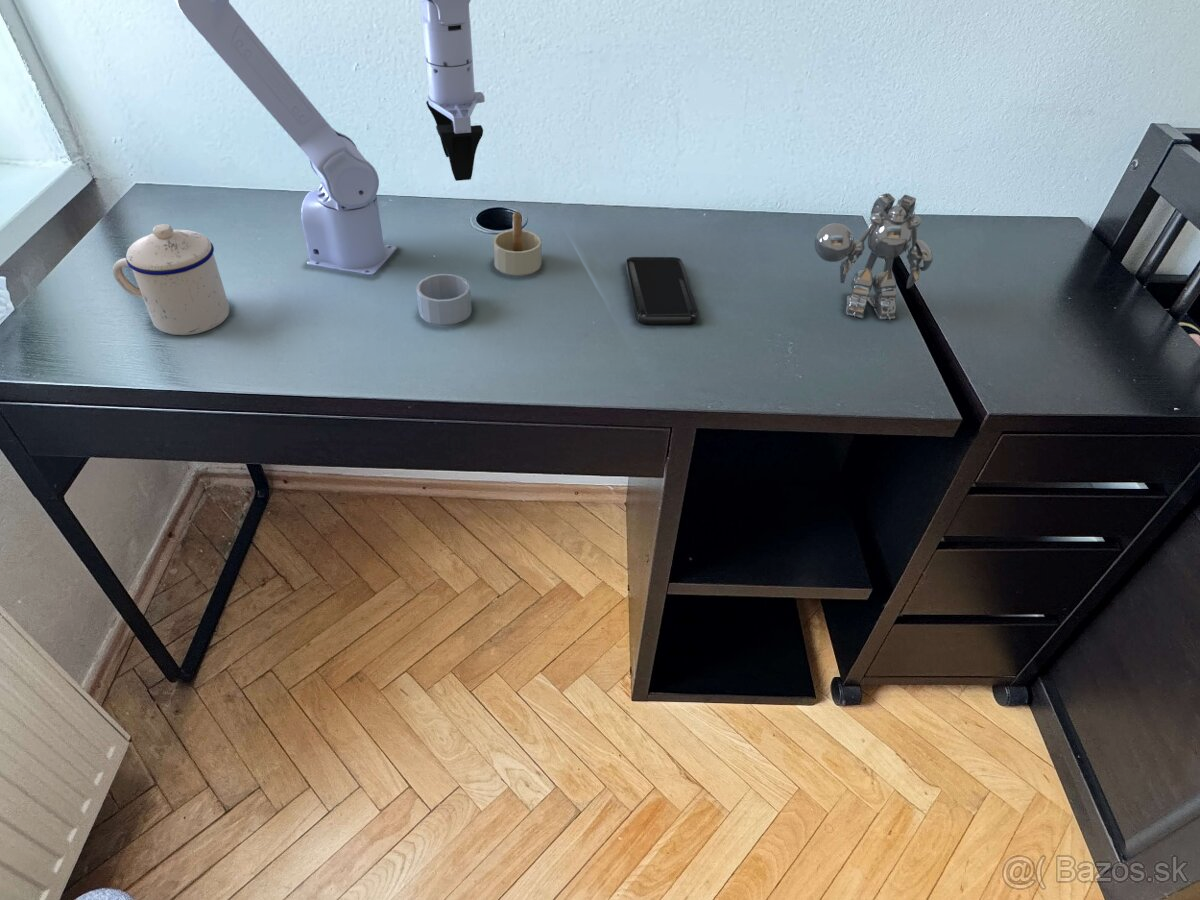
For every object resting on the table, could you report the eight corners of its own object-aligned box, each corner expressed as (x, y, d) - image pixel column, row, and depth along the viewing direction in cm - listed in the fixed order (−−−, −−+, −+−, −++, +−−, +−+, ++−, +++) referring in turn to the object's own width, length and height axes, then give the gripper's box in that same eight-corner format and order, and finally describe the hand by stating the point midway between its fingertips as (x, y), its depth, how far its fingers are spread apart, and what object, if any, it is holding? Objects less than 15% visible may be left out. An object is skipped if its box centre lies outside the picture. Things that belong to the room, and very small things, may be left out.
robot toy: (802, 315, 104) (830, 206, 94) (796, 290, 108) (823, 184, 98) (916, 323, 104) (957, 215, 94) (905, 298, 108) (943, 192, 98)
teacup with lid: (243, 298, 100) (218, 211, 92) (215, 340, 93) (185, 249, 86) (147, 292, 100) (114, 204, 92) (112, 333, 93) (73, 242, 85)
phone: (638, 316, 99) (625, 256, 110) (637, 324, 100) (625, 263, 111) (700, 316, 100) (682, 257, 111) (699, 324, 101) (681, 264, 112)
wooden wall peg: (508, 268, 108) (506, 216, 103) (504, 260, 110) (503, 209, 105) (531, 265, 109) (531, 214, 104) (527, 257, 110) (527, 207, 105)
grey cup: (411, 323, 98) (408, 296, 96) (431, 296, 103) (428, 270, 100) (461, 331, 97) (459, 304, 95) (478, 304, 102) (477, 278, 99)
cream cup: (487, 273, 108) (486, 248, 105) (502, 251, 112) (501, 226, 110) (533, 281, 107) (533, 255, 104) (546, 258, 111) (546, 233, 109)
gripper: (493, 77, 94) (498, 187, 103) (471, 40, 104) (477, 143, 114) (432, 80, 93) (443, 192, 102) (416, 42, 103) (427, 147, 112)
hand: (458, 167), depth 108 cm, fingers open, 7 cm apart
